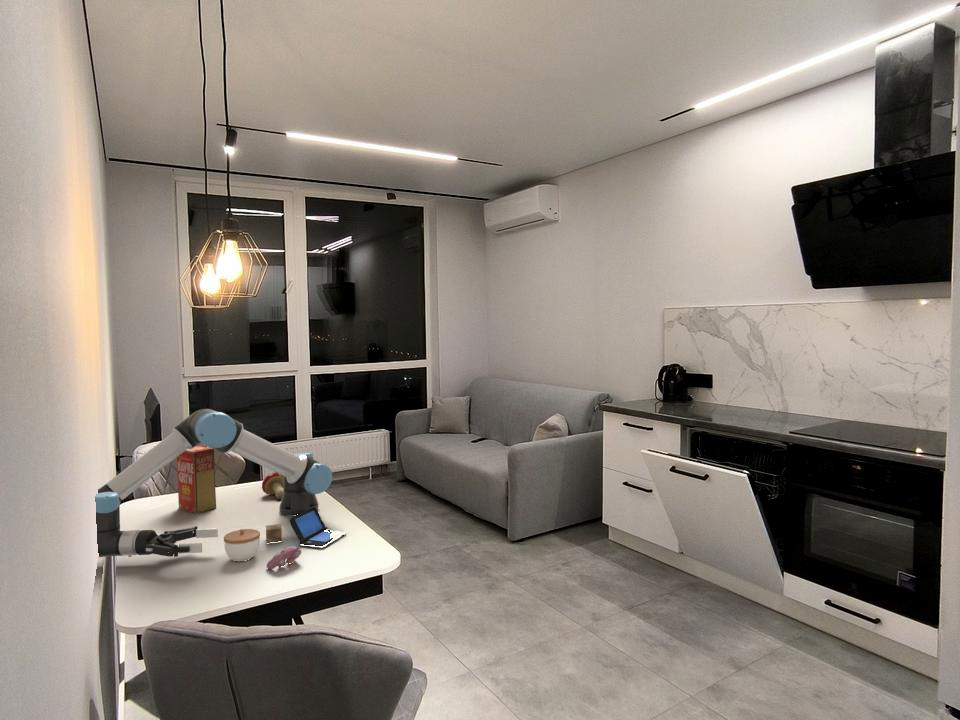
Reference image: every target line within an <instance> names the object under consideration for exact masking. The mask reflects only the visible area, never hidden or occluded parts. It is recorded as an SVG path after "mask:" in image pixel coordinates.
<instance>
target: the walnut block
mask: <svg viewBox="0 0 960 720" xmlns="http://www.w3.org/2000/svg"><path fill="white" fill-rule="evenodd" d="M282 535H283V533H282V523H277V524H268V525H265V543H270V542H278V541H282V542H283V539H282V538H283V536H282Z"/></svg>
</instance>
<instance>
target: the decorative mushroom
mask: <svg viewBox="0 0 960 720" xmlns="http://www.w3.org/2000/svg"><path fill="white" fill-rule="evenodd" d="M261 489H262V492H263V493H264V494H266V495H268V494H275V495H274V496H276V498H277V499H278V500H282V497H283V493H284V487H283V475H281V474H279V473H277V472H275V471H274V472H272V473H269V474H268V475H266V476H265V477H264V479H263V481H262V483H261Z"/></svg>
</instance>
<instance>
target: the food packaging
mask: <svg viewBox="0 0 960 720" xmlns="http://www.w3.org/2000/svg"><path fill="white" fill-rule="evenodd" d="M215 464H216V463H215V449H214V448H212V447H208V446H202V445H201V446H200V445H199V446H198V445H196V446H195V447H194V448H192V449H187V450H185V451H184V452H183V453H181V454H180V455H179V456H178V457H176V473H177V493H178V494H177V495H178V496H177V497H178V510H181V509H182V511H185V512H188V511H189V513H192V512H193V514H197V513H198V514H200V513H204V511H205V512H208V511H211V509H212V510H215V509H217V496H216V495H217V493H216V473H215V472H216V470H215V468H216V467H215Z"/></svg>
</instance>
